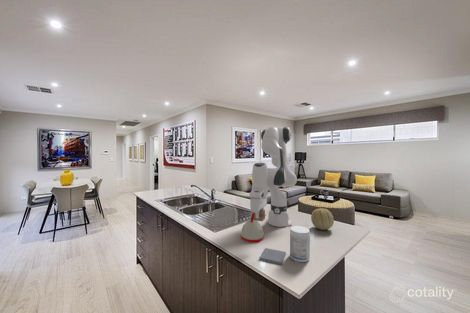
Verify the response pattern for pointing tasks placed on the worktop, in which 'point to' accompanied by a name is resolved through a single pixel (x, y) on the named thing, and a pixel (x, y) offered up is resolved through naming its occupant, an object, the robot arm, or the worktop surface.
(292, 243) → the supplement tub
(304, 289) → the worktop surface
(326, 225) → the cantaloupe
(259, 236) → the kitchen timer
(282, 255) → the slate coaster
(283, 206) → the robot arm
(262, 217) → the walnut block
